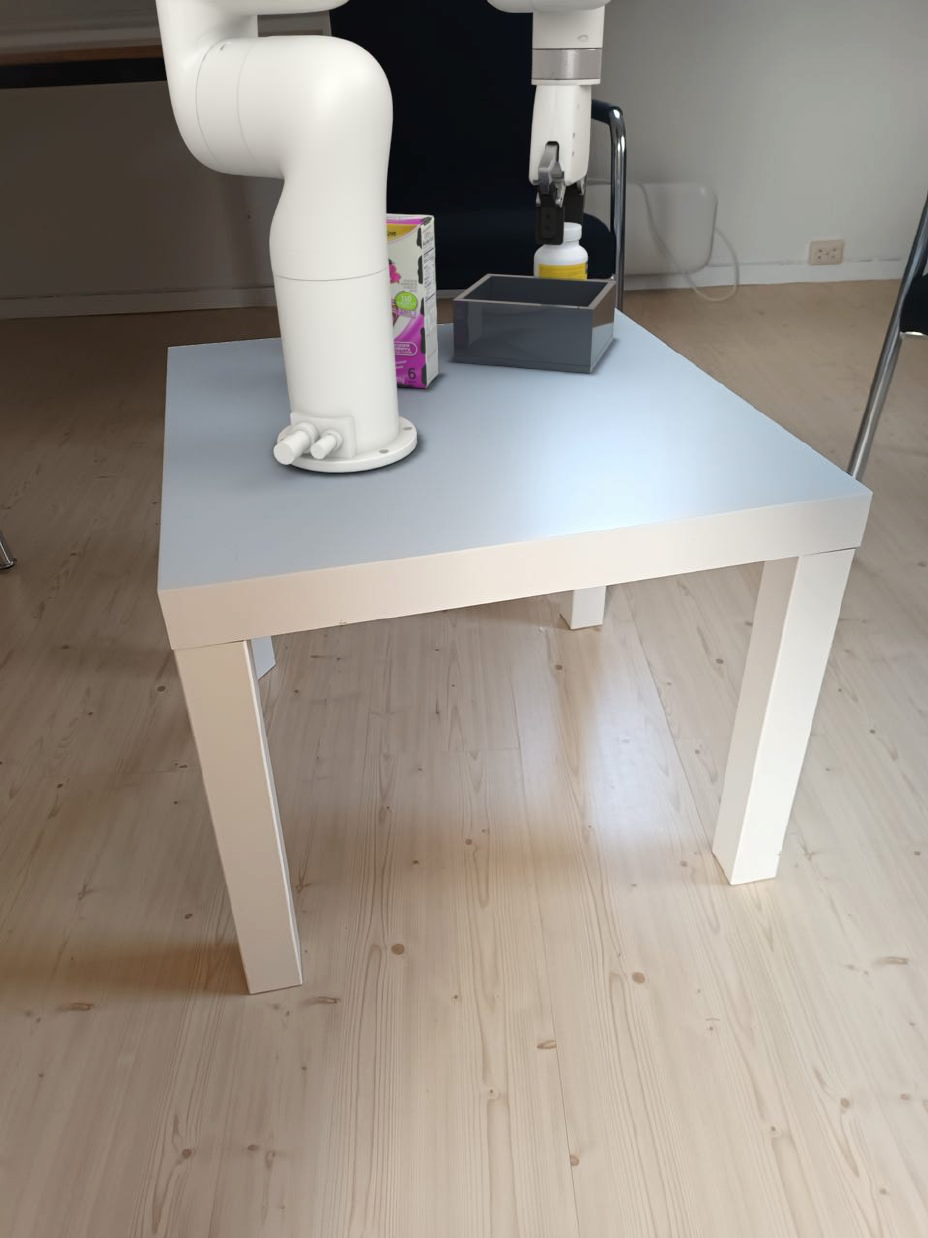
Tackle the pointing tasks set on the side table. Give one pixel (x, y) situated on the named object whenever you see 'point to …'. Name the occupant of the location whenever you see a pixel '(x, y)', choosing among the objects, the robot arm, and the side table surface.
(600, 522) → the side table surface
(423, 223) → the candy bar box
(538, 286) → the open box
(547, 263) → the pill bottle
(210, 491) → the side table surface
